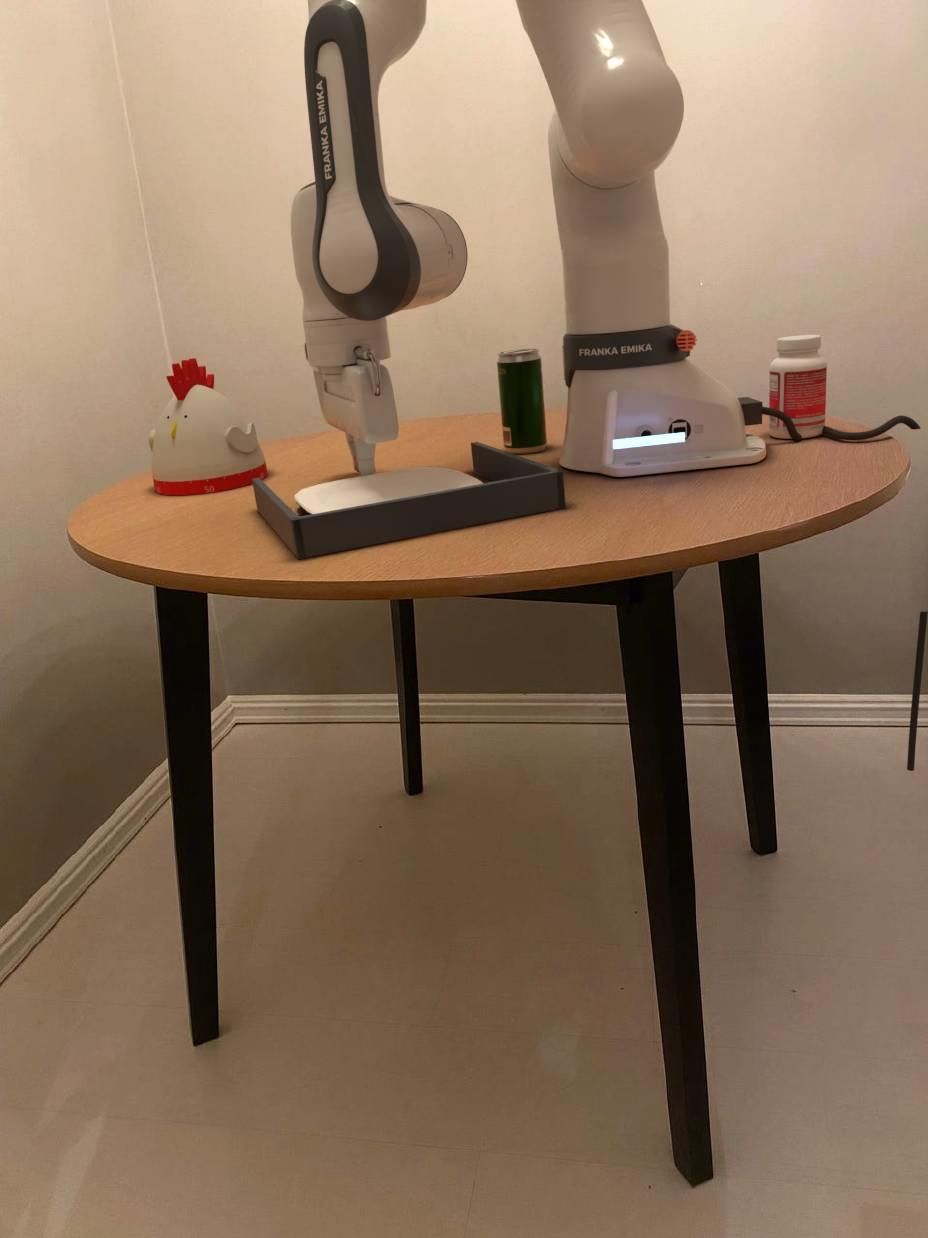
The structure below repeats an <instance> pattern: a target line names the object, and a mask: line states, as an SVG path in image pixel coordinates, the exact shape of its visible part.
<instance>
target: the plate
mask: <svg viewBox="0 0 928 1238" xmlns="http://www.w3.org/2000/svg"><path fill="white" fill-rule="evenodd" d="M484 483H485V482H482V480H480V479H478V478H476V477H474V476H472V475H469V474H467V473H465V472H462V471H460V470H457V469H453V468H449V467H440V466H426V467H425V466H423V467H412V468H411V467H410V468H403V469H397V470H389V471H383V472H378V473H373V474H369V475H360V476H354V477H348V478H343V479H337V480H333V481H328V482H327V481H326V482H323V483H319V484H314V485H310V486H308V487H303V488H301V489H300V490H299V491H298V492H297V493H295V494H294V495H293V497H294V500H295V503H296V504H297V505H298V506H299V507H300V508H301V509H302V510H303V511H304V512H305V513H307V515H311V514H317V513H322V512H328V511H333V510H339V509H344V508H350V507H356V506H361V505H367V504H372V503H378V502H383V501H389V500H394V499H400V498H406V497H411V496H417V495H422V494H428V493H433V492H439V491H445V490H450V489H456V488H461V487H467V486H472V485H478V484H484Z"/></svg>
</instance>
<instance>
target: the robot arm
mask: <svg viewBox="0 0 928 1238" xmlns="http://www.w3.org/2000/svg"><path fill="white" fill-rule="evenodd" d="M515 4H516V8H517V11H518V14H519V18H520V22H521V25H522V28H523V30H524V31H525V33H526V35H527V37H528V39H529V41H530V43H531V46H532V48H533V51H534V53H535V55H536V57H537V60H538V62H539V65H540V68H541V70H542V73H543V75H544V79H545V81H546V83H547V87H548V89H549V92H550V95H551V98H552V101H553V103H554V107H555V109H554V111H553V113H552V115H551V119H550V122H549V125H548V131H547V146H548V158H549V168H550V169H549V170H550V177H551V187H552V195H553V204H554V211H555V218H556V219H555V220H556V225H557V231H558V238H559V239H558V240H559V244H560V251H561V264H562V280H563V297H564V311H565V312H564V314H565V331H566V333H565V334H564V335H563V337H562V346H561V350H562V352H561V353H562V367H563V371H562V372H563V378H564V379H563V380H564V382H565V386H566V387H567V405H566V419H565V429H564V437H563V444H562V448H561V454H560V457H559V461H558V463H559V465H560V466H561V467H563V468H566V469H569V470H574V471H580V472H587V473H599V474H603V475H606V476H610V477H615V478H617V477H618V478H621V477H622V478H624V477H635V476H644V475H645V476H646V475H653V474H664V473H672V472H673V473H674V472H682V471H692V470H693V471H694V470H702V469H710V468H711V469H712V468H720V467H721V468H722V467H730V466H741V465H750V464H755V463H758V462H760V461H762V460H764V459H765V458H766V456H767V444H766V442H765V441H764V440H763V439H762V438H761V437H759V436H757V435H755V434H751V433H747V429H746V427H747V426H755V425H763V416H768V417H769V416H773V417H776V418H778V419H780V420H781V421H783V422H784V424H785V425H786V428H787V430H788V433H789V435H790V436H791V438H792V439H791V440H793V441H794V442H800V441H801V440H803V439H802V437H801V435H800V434H798V432H797V431H796V428H795V426H794V423H793V421H792V420H791V418H790V417H789V416H788V415H787V414H785V413H784V412H782V411H780V410H777V409H773V408H769V406H763V401H761V400H759V399H756V398H752V397H749V396H741V397H737V395H736V394H735V393H734V391H732V389H730V388H729V387H727V386H726V385H725V384H723V383H722V382H720V381H719V380H718V379H717V378H715V377H714V376H712V375H711V374H710V373H708V371H705V370H704V369H702V368H701V367H700V366H698V365H697V364H695V363H694V362H693V361H690V359H688V358H689V357H690V356H691V351H692V350H694V347H695V346H696V345H697V343H696V342H697V341H698V340H697V335H696V334H695V333H694V332H693V331H691V330H689V329H682V328H680V327H678V326H676V325H674V324H672V323H671V307H670V303H671V302H670V301H671V300H670V298H671V297H670V254H669V253H670V252H669V243H668V240H667V237H666V234H665V231H664V226H663V221H662V216H661V210H660V204H659V199H658V198H659V197H658V192H657V183H656V176H655V172H656V170H657V169H658V168H659V167H660V166H661V165H662V164H663V163H664V162H665V161H666V159H667V158H668V157H669V155H670V154H671V152H672V150H673V148H674V146H675V144H676V142H677V139H678V137H679V135H680V132H681V128H682V124H683V121H684V115H685V100H684V94H683V90H682V87H681V83H680V82H679V80H678V77H677V76H676V74H675V73H674V71H673V70H672V69H671V67H670V66H669V65H668V62H667V59H666V57H665V54H664V52H663V49H662V46H661V44H660V41H659V39H658V36H657V33H656V31H655V27H654V25H653V23H652V21H651V18H650V16H649V13H648V12H647V10H646V7H645V4H644V2H643V0H515ZM307 8H308V9H307V10H308V23H307V27H306V30H305V36H304V45H303V46H304V47H303V58H304V59H303V62H304V63H303V65H304V80H305V82H304V83H305V93H306V104H307V114H308V124H309V125H308V126H309V133H310V145H311V152H312V164H313V173H314V181H313V182H311V183H308V184H306V185H305V186H302V188H300V190H299V191H298V192H297V193H295V195H294V197H293V199H292V203H291V210H290V239H291V249H292V258H293V264H294V265H293V266H294V272H295V277H296V281H297V283H298V286H299V288H300V291H301V294H302V301H303V302H302V303H303V307H302V308H303V309H302V316H301V320H302V325H303V331H304V332H303V333H304V340H305V342H304V344H303V345H304V346H303V347H304V354H305V359H306V362H308V365H309V366H310V367H312V374H313V378H314V383H315V387H316V388H315V389H316V392H317V397H318V401H319V406H320V409H321V410H320V411H321V413H322V416H323V418H324V421H325V422H326V424H327V425H330V426H332V427H334V428H336V430H337V429H338V430H339V431H342V432H343V433H345V439H346V443H347V445H348V449H349V451H350V454H351V457H352V464H353V470H354V471H355V472H357V473H359V474H360V476H365V475H371V474H375V473H376V471H377V470H376V463H375V455H376V445H377V444H379V443H385V442H391V441H396V440H397V439H398V437H399V428H400V427H399V419H398V413H397V412H398V411H397V407H396V400H395V399H396V398H395V394H394V388H393V384H392V379H391V375H390V372H389V369H388V368H387V367H386V366H385V364H381V361H385V360H387V359H390V358H391V357H392V355H391V345H390V338H389V329H388V320H387V317H388V316H391V315H393V314H396V313H399V312H402V311H408V310H413V309H417V308H420V307H424V306H428V305H432V304H436V303H438V302H440V301H442V300H444V299H445V298H447V297H449V296H451V295H452V294H453V293H454V292H455V291H456V290H457V289H458V288H459V287H460V285H461V283H462V281H463V279H464V277H465V274H466V270H467V265H468V246H467V241H466V238H465V235H464V233H463V230H462V229H461V227H460V225H459V224H458V223H457V221H456V220H455V219H454V218H453V217H452V216H451V215H450V214H449V213H447V212H445V211H444V210H441V209H438V208H437V207H433V206H430V205H426V204H421V203H416V202H412V201H408V200H404V199H402V198H398V197H395V196H392V195H390V194H389V191H388V189H387V185H386V176H385V175H386V174H385V165H384V155H383V144H382V143H383V142H382V135H381V132H382V131H381V121H380V112H379V92H380V86H381V84H382V80H383V77H384V75H385V73H386V71H388V69H389V68H390V67H391V66H392V65H394V64H396V63H397V62H398V61H400V60H401V59H402V58H404V57H405V56H406V55H407V54H408V53H409V52H410V50H411V49H412V48H413V47H414V46H415V44H416V43H417V41H418V40H419V38H420V36H421V35H422V32H423V30H424V28H425V25H426V22H427V9H428V0H307ZM900 424H903V425H906V426H907V427H908V428H909V429H910V430H921V429H922V428H921V426H920V424H919V423H918V422H917V421H915V419H913V418H912V417H909V416H907V415H903V414H902V415H901V414H900V415H897V416H894V417H892V418H891V419H889V420H887V421H886V422H885V423H883V424H881V425H879V426H878V427H876V428H873V429H871V430H866V431H857V432H855V431H854V432H853V431H852V432H849V431H842V430H838V429H835V428H833V427H831V426H827V425H825V426H824V427H823V431H822V432H823V433H822V434H823V435H827V436H829V437H832V438H833V439H838V440H844V441H863V440H869V439H873V438H876V437H878V436H880V435H883V434H885V433H886V432H888V431H890V430H891V429H893V428H894V427H895V426H897V425H900ZM918 619H919V620H918V621H919V622H918V632H917V643H916V652H915V653H916V654H915V662H914V663H915V665H914V674H913V682H912V684H913V685H912V696H911V705H910V706H911V707H910V719H909V732H908V745H907V746H908V747H907V762H906V770H907V771H909V772H913V771H915V765H916V763H915V761H916V744H917V732H918V718H919V710H920V709H919V708H920V697H921V696H920V695H921V686H922V679H923V678H922V676H923V667H924V666H923V665H924V656H925V645H926V635H927V625H928V610H927V611H919V618H918Z"/></svg>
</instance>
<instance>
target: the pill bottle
mask: <svg viewBox="0 0 928 1238" xmlns="http://www.w3.org/2000/svg"><path fill="white" fill-rule="evenodd" d="M821 346H822V336H821V335H820V334H801V335H791V336H790V335H789V336H782V337H779V338H777V339H776V352H777V353H778V356H777V357H776V358H775V359H773V360H772V361H771V363H770V365H769V371H768V372H769V379H768V380H769V381H768V382H769V390H768V391H769V393H768V395H769V399H768V403H769V404H768V408H773V409H777V410H780V411H782V412H784V413H785V414H787V415H788V416H789V417H790V418H791V420H792V421H793V423H794V426H795V428H796V431H797V432H798V434H800V435H801V437H802V439H801V440H803V439H809V438H814V437H818V436H821V435H822V434H824V433H823V432H822V431H823V427H824V426H826V408H827V407H826V403H827V371H828V370H827V369H828V364H827V363H828V362H827V359H826V358H825V357H824V356H823V355H821V354H819V350H820V349H821ZM768 433H769V435H770V436H771V437H773V438H776V439H783V440H785V439H786V440H793V439H792V438H791V436H790V435H789V433H788V430H787V428H786V425H785V424H784V422H783V421H781V420H780V419H778V418H776V417H773V416H769V415H768Z"/></svg>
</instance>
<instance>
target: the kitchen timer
mask: <svg viewBox="0 0 928 1238" xmlns="http://www.w3.org/2000/svg"><path fill="white" fill-rule="evenodd" d="M180 361H181V362H177V363H171V369H172V374H173V375H166V376H165V377H166V380H167V382H168V385H169V386H170V388H171V390H172V393H173V394H174V395H173V396H172V398H171V399H170V400H169V401H168V402H167V404H166V405H165V406H164V408H163V411H162V412H161V414H160V416H159V419H158V421H157V424H156V427H155V429H152V430H151V431H149V436H148V443H149V448H150V451H151V452H152V453H151V477H152V481H153V485H154V491H155V493H157V494H159V495H165V496H193V495H203V494H204V495H205V494H211V493H218V492H223V491H229V490H234V489H238V488H241V487H246V486H249V485H253V483H252V479H254V478H260V479H261V480H262V481H263V480H264V479H266V478H267V476H268V475H269V474H268V468H267V461H266V457H265V455H264V451H263V449H262V447H261V445H260V442H259V440H258V435H257V430H256V426H255V424H254V422H253V421H250V422H248V419H247V418H246V417H245V416H244V415H243V413H242V412H241V411H240V409H239V408H237V406H235V404H234V403H233V402H232V401H231V400H229V398H227V397H225V396H224V395H223V394H221V393H220V392H219V391H217V390H215V374H214V373H210V374H209V373H208V374H207V367H206V366H205V365H200V366H199V364H198V361H197V358H196V357H192V358H188V359H182V360H180ZM180 363H181V364H180Z"/></svg>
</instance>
